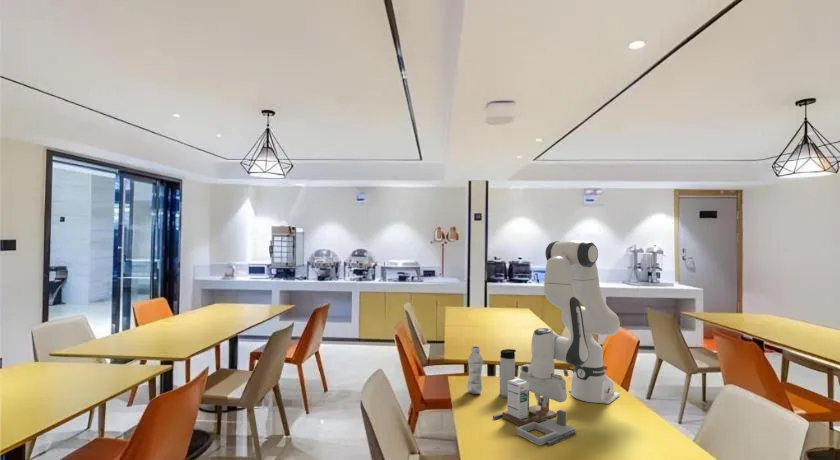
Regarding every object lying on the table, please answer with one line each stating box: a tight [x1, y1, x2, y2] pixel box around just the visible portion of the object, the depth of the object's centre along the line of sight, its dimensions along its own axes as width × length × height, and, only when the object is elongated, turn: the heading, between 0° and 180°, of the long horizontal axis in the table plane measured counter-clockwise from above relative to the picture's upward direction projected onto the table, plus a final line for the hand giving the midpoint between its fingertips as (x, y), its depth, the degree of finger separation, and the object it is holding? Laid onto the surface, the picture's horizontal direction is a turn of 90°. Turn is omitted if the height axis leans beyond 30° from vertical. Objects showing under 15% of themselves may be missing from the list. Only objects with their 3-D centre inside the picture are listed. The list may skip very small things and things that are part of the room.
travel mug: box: [499, 348, 517, 399], centre depth 179 cm, size 6×7×20 cm
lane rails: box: [492, 412, 577, 447], centre depth 149 cm, size 15×25×1 cm, turn 36°
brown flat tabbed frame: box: [502, 396, 557, 427], centre depth 157 cm, size 20×10×5 cm, turn 126°
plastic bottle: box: [466, 345, 484, 395], centre depth 181 cm, size 6×7×20 cm
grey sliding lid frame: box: [515, 409, 576, 447], centre depth 144 cm, size 20×10×5 cm, turn 126°
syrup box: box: [507, 377, 530, 420], centre depth 154 cm, size 6×6×14 cm
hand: (541, 406), depth 161 cm, fingers closed, pressing on brown flat tabbed frame
